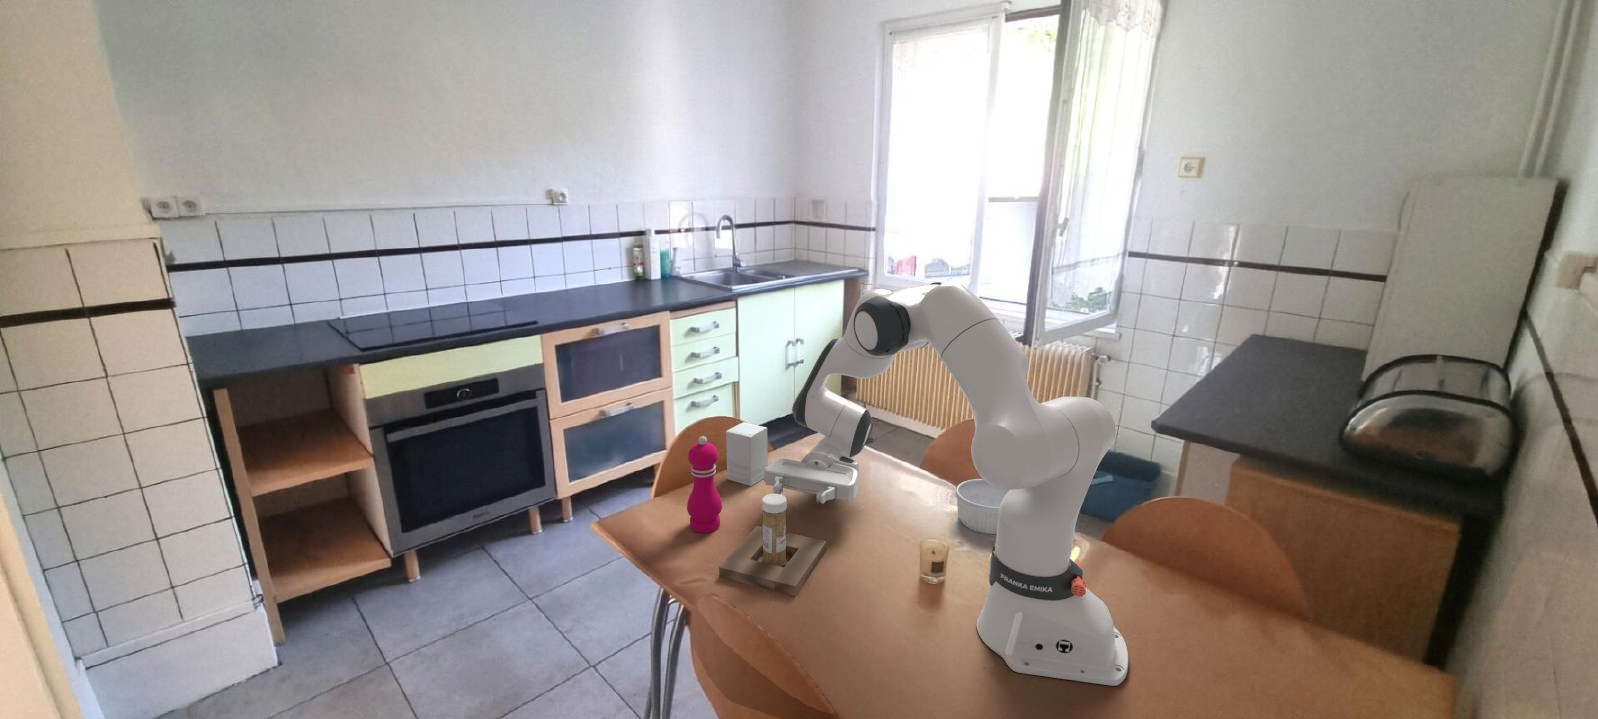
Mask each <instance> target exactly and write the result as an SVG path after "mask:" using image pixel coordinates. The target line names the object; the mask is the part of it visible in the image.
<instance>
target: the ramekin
mask: <svg viewBox="0 0 1598 719" xmlns="http://www.w3.org/2000/svg"><path fill="white" fill-rule="evenodd" d="M1008 492H1009V490H1000V489H997V488H994V487H992V486H991V485H989V484H988V483H987V482H986V481H984V479H983V478H976V479H975V478H974V479H968V480H965V481H963V482H961V483H959V484H958V485H957V486H956V489H955V498H956V505H957V506H956V507H957V515H958V519H959V520H960V522H961V523H962V524H963V525H964V526H965V527H966V528H968V529H969V530H972V531H973V532H977V533H981V534H987V535H996V534H997V524H998V514H999V508H1000V504H1001V502H1002V500H1003V498H1004V497H1005V495H1006V494H1007V493H1008Z"/></svg>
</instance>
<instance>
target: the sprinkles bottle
mask: <svg viewBox="0 0 1598 719" xmlns="http://www.w3.org/2000/svg"><path fill="white" fill-rule="evenodd" d="M787 504H788V502H787V498H786V496H785V495H783V494H773V493H768V494H766V495H764V496H763V497H762V499H761V510H762V527H763V554H762V556H763V558H762V562H763V563H767V564H772V565H776V566H780V567H784V566H786V565H785V564H786V563H787V559H786V558H787V557H786V556H787V555H786V532H787V525H786V520H787V519H786V515H787V514H786V511H787V508H788V506H787Z"/></svg>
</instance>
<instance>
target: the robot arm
mask: <svg viewBox="0 0 1598 719" xmlns="http://www.w3.org/2000/svg"><path fill="white" fill-rule="evenodd" d="M930 346H931V347H932V348H933V350H934V351H935V353H936V355H937V356H938V358H939V359H940V361H941V362H942V364H943V365H944V366H945V368H946V369H947V370H948V372H949V374H951V377H952V378H953V379H954V381H955V382H956V384H957V385H958V387H959V388H960V389H961V391H962V393H963V394H964V396H965V399H966V400H967V402H968V405H969V406H970V410H971V412H972V416H973V420H974V428H975V429H974V435H973V438H972V442H971V446H970V450H971V451H970V453H971V459H972V462H973V465H974V467H975V469H976V472H977V473H978V474H979V476H980V477H981V479H984V481H986V482H987V483H988V484H989V485H991V486H992V487H994V488H997V489H1000V490H1009V492H1008V493H1007V494H1006V495H1005V497H1004V498H1003V500H1002V502H1001V504H1000V508H999V514H998V524H997V534H995V544H994V545H993V547H992V551H991V553H990V556H989V557H990V559H989V568H988V578H989V579H988V582H989V586H988V590H987V594H986V598H985V601H984V604H983V607H982V610H981V611H980V614H979V615H978V617H977V619H976V620H977V621H976V629H977V633H978V635H979V637H980V638H981V640H982V641H983V643H984V644H985V645H986V646H987V647H989V648H990V649H991V650H992V651H993V652H995V653H997V655H998V656H1000V657H1002V659H1003V660H1004V661H1005V663H1006V665H1008V667H1009V668H1010V669H1011V670H1012V671H1014V672H1016V673H1018V674H1019V673H1020V674H1025V675H1033V676H1041V677H1047V678H1055V679H1063V680H1070V681H1076V682H1083V683H1090V684H1098V685H1106V686H1112V687H1113V686H1116V687H1117V686H1119V685H1120V684H1121V683H1122V682H1123V681H1124V680H1125V679H1126V677H1127V675H1128V670H1129V653H1128V652H1129V651H1128V647H1127V644H1126V641H1125V639H1124V637H1123V636H1122V634H1121V633H1120V631H1119V630H1118V629H1117V628H1116V627H1115V625H1114V622H1113V618H1112V615H1111V613H1110V612H1111V611H1110V610H1109V608H1108V606H1107V605H1106V604H1105V602H1104V601H1103V600H1101V599H1100V597H1098V596H1097V595H1095V594H1094V593H1093V592H1092V591H1091V590H1089V589H1088V588H1087V587H1086V586H1087V585H1086V584H1087V583H1086V581H1084V580H1083V574H1084V571H1083V569H1082V568H1081V562H1080V559H1079V558H1078V559H1077V560H1076V562H1075V561H1073V559H1071V556H1072V551H1073V550H1072V548H1073V542H1074V536H1075V531H1076V524H1077V520H1078V516H1079V515H1080V511H1081V507H1082V505H1083V503H1084V501H1085V498H1086V495H1087V493H1088V490H1089V488H1090V486H1091V483H1092V481H1093V479H1094V476H1095V474H1096V471H1097V469H1098V467H1099V465H1100V463H1101V462H1102V460H1103V458H1104V456H1105V455H1106V454H1107V453H1108V451H1110V450H1109V449H1110V448H1112V446H1113V444H1114V442H1115V439H1116V434H1117V433H1116V431H1117V430H1116V423H1115V420H1114V418H1113V415H1112V414H1111V412H1110V411H1109V410H1108V408H1107V407H1106V406H1105V405H1104V404H1102V403H1101V402H1100V401H1098V400H1095V399H1094V398H1091V397H1086V396H1061V397H1058V398H1057V397H1056V398H1053V399H1050V400H1047V401H1044V402H1039V401H1037V399H1036V398H1035V397H1034V395H1033V394H1032V392H1031V389H1030V388H1029V384H1028V382H1027V377H1026V376H1027V375H1028V372H1029V367H1030V364H1029V363H1030V361H1029V358H1028V356H1027V354H1026V353H1025V352H1024V350H1023V349H1022V348H1021V346H1020V345H1019V344H1018V342H1017V341H1016V340H1015V338H1013V336H1012V335H1011V334H1010V333H1009V331H1008V330H1007V329H1006V327H1005V326H1004V325H1003V324H1002V322H1001V321H1000V320H999V319H998V317H997V316H996V314H994V312H992V311H991V310H990V308H989V307H988V306H987V305H986V304H985V303H984V302H983V301H982V300H981V299H980V298H979V297H978V296H976V295H975V293H973V292H972V291H971V290H969V289H968V288H967V287H966V286H965V285H963V284H961V283H959V282H956V281H955V282H954V281H947V282H946V281H936V282H931V283H929V284H925V285H924V284H923V285H922V284H921V285H917V286H912V287H904V288H903V287H902V288H900V289H896V290H893V291H892V290H888V289H884V288H873V289H870V290H868V291H866V292H864V293H863V294H862V295H861V296H860V298H859V299H858V301H857V302H856V305H855V306H854V309H853V311H852V312H851V315H850V318H849V319H848V323H847V326H846V328H845V333H844V335H843V336H842V337H840V338H833V339H832V340H830V341H829V342H828V343H827V344H826V346H824V348H823V350H822V351H821V352H820V355H819V356H818V358H817V359H816V361H815V363H814V365H813V367H812V369H811V371H810V373H809V374H808V377H807V379H806V381H805V383H804V385H803V387H802V389H800V391H798V394H797V395H796V396H795V398H794V400H793V402H792V407H791V412H792V416H793V418H794V420H795V422H796V424H797V425H800V426H803V427H805V428H807V429H810V430H813V431H815V432H817V433H819V434H820V435H823V437H822V438H821V439H820V440H819V441H818V442H817V443H816V445H815V446H814V447H812V449H810V450H809V451H808V452H807V453H806V454H805V456H804V457H803V458H802V459H801V461H799V460H795V459H788V458H778V459H776V460H774V461H773V462H771V463H769V464H768V466H767V467H766V468H765V469H764V478H763V481H764V483H765V485H767V486H771V487H772V494H780V495H782V493H783V492H784V489H786V490H791V491H795V492H801V493H805V494H810V495H816V497H815V499H816V501H815V502H816V503H818V504H825V502H827V501H830V500H834V499H836V500H842V501H847V502H849V501H853V500H855V498H856V496H857V494H858V487H859V482H860V463H859V461H858V460H855V459H854V458H855V456H857V455H859V454H860V453H861V452H862V450H863V449H864V448H865V446H866V445H867V442H868V440H869V439H870V437H871V433H872V431H873V430H872V429H873V426H874V425H873V420H872V416H871V414H870V413H871V412H870V411H869V409H867V408H865V407H863V406H861V405H859V404H857V403H855V402H854V401H853V400H852V401H851V400H849V399H847V398H845V397H843V396H841V395H839V394H837V393H834V392H833V391H831V390H830V389H828V388H827V387H826V384H827V382H828V380H829V379H830V376H831V375H832V376H833V375H840V376H847V377H850V378H851V377H853V378H855V379H871V378H875V377H878V376H880V375H882V374H883V373H885V372H887V371H888V370H889V368H890V367H891V366H892V363H893V362H894V360H895V358H896V356H897V354H898V353H901V352H902V353H903V352H908V351H913V350H916V349H923V348H926V347H930Z"/></svg>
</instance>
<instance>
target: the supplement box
mask: <svg viewBox="0 0 1598 719" xmlns="http://www.w3.org/2000/svg"><path fill="white" fill-rule="evenodd" d="M725 443H726V444H725V446H726V448H725V449H726V450H725V451H726V477H727V480H729V481H731V482H736V483H740V484H741V485H742V484H743V485H746V486H749V487H752V486H754V485H755V484H757V483H759V482H760V481H762V480H764V469H765V468H766V467H767V466H768V465H769V464H768V461H769V460H768V454H769V452H768V427H766V426H762V425H757V424H753V423H748V422H745V421H743V422H741V423H739V424H737V425H735V426H733V427H731V428H729V429H727V430H726V431H725Z"/></svg>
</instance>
